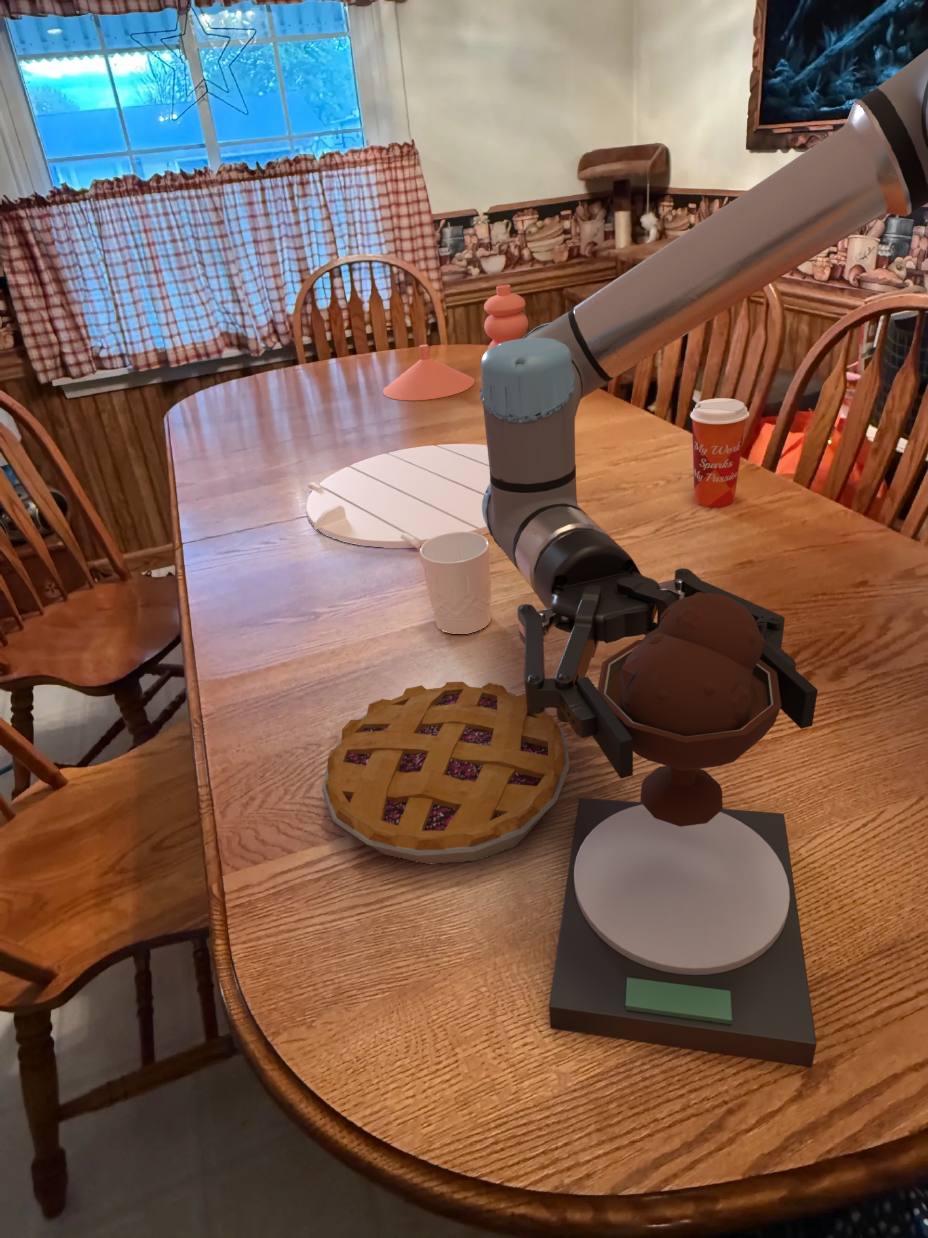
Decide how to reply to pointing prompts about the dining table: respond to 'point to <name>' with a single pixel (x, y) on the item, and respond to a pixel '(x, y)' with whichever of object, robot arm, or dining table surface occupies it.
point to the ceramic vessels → (444, 381)
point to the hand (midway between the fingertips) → (720, 734)
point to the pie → (446, 773)
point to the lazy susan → (404, 496)
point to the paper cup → (717, 449)
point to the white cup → (458, 580)
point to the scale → (683, 934)
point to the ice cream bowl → (692, 701)
